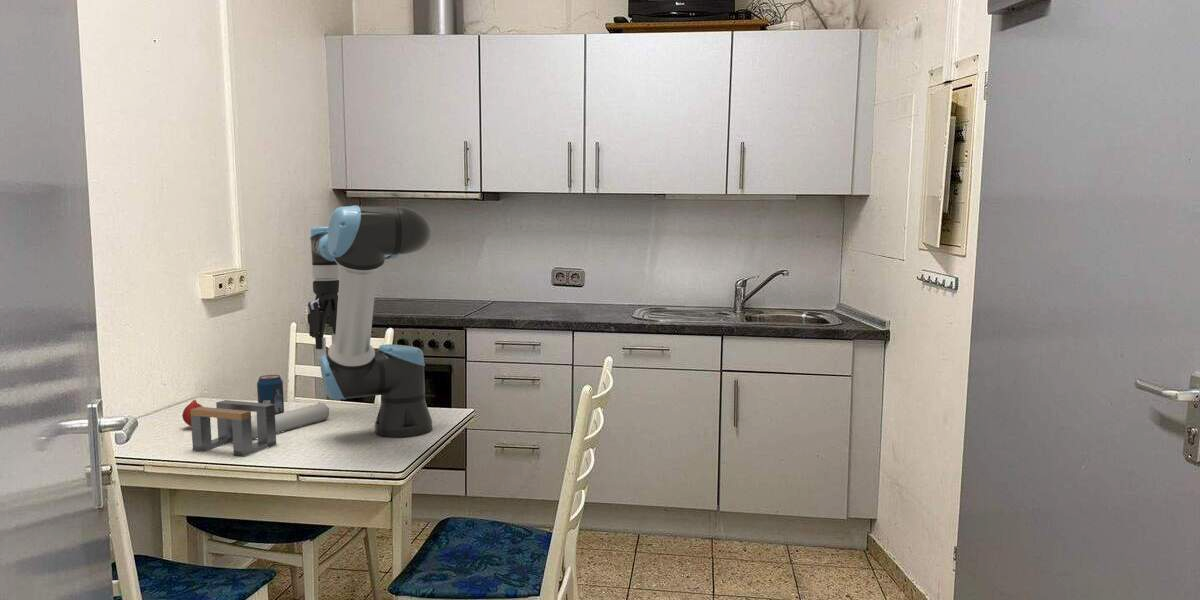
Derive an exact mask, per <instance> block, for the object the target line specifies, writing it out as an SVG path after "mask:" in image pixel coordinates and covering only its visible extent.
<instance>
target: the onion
mask: <svg viewBox="0 0 1200 600" xmlns="http://www.w3.org/2000/svg"><path fill="white" fill-rule="evenodd" d="M197 407H204V406H203V405H202V404H200V403H198V402H197V400H196V399H192V401H190V403H189V404H188V405H187V406H185V408H184V409H183V411H182V420H183V421H184V423H185V424H186V425H188V426H189V427H191V428H192V426H191V409H194V408H197Z"/></svg>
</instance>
